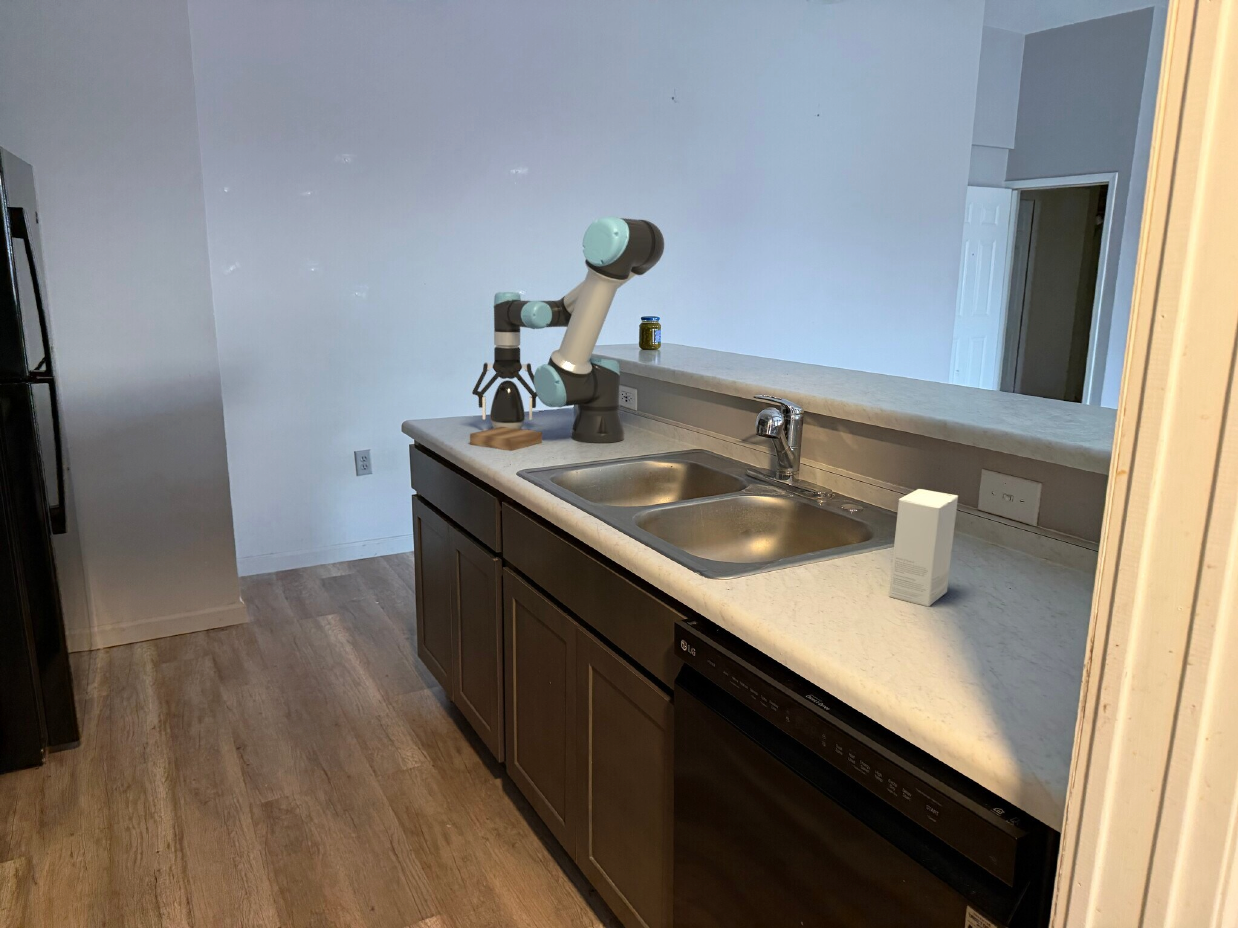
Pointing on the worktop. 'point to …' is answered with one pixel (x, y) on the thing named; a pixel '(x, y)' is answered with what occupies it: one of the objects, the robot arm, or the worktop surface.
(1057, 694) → the worktop surface
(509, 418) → the glossy black egg shape
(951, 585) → the worktop surface
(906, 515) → the skincare box
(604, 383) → the robot arm
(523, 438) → the walnut stand
